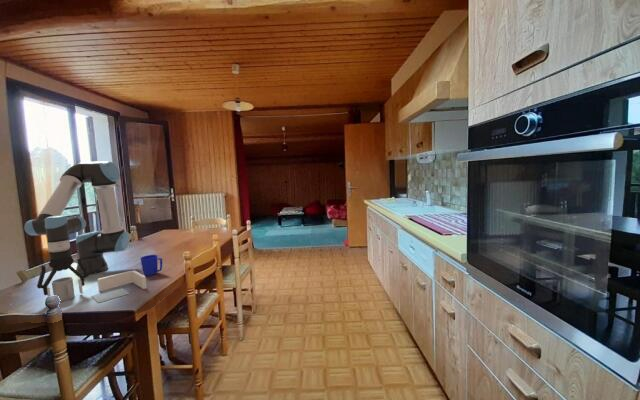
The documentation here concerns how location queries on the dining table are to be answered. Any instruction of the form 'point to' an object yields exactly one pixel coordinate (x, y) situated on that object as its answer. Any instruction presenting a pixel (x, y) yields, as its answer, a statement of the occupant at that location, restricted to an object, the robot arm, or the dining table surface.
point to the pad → (109, 295)
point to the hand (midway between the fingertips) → (66, 297)
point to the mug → (150, 264)
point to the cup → (63, 288)
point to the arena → (122, 280)
